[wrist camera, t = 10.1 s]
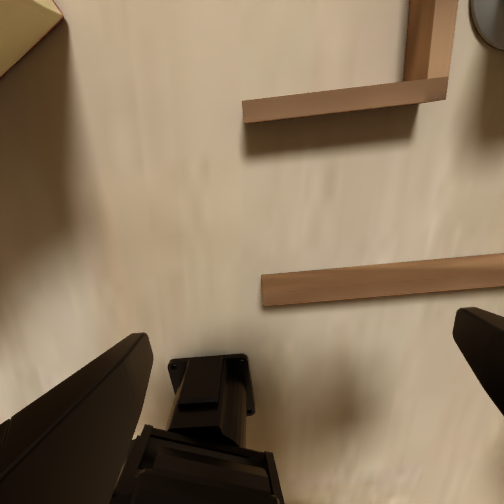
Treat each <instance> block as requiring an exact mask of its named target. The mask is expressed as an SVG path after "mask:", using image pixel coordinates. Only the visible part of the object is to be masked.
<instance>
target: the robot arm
mask: <svg viewBox="0 0 504 504" xmlns="http://www.w3.org/2000/svg"><path fill="white" fill-rule="evenodd" d="M453 338H454V340H455V342H456V344H457V346H458V347H459V349H460V351H461V352H462V354H463V356H464V357H465V359H466V360H467V362H468V364H469V365H470V367H471V369H472V370H473V372H474V374H475V375H476V377H477V379H478V380H479V382H480V383H481V385H482V387H483V388H484V390H485V391H486V393H487V394H488V395H489V397H490V398H491V400H492V401H493V402H494V404H495V405H496V406H497V408H498V409H499V410H500V412H501V413H502V414H503V416H504V317H502V316H499V315H496V314H494V313H491V312H488V311H485V310H482V309H479V308H476V307H466V308H460V309H458V310H457V312H456V317H455V322H454V327H453ZM240 360H244V361H240ZM152 365H153V352H152V349H151V345H150V341H149V338H148V335H147V334H146V333H144V332H143V333H132V334H130V335H129V336H127V337H126V338H125V339H123V340H122V341H120V342H119V343H117V344H116V345H114V346H113V347H112V348H110V349H109V350H107V351H106V352H104V353H103V354H101V355H100V356H99V357H97V358H96V359H94V360H93V361H91V362H90V363H88V364H87V365H86V366H84V367H83V368H81V369H80V370H78V371H77V372H76V373H74V374H73V375H71V376H70V377H68V378H67V379H65V380H64V381H63V382H61V383H60V384H58V385H57V386H55V387H54V388H52V389H51V390H50V391H48V392H47V393H45V394H44V395H42V396H41V397H39V398H38V399H37V400H35V401H34V402H32V403H31V404H29V405H28V406H26V407H25V408H24V409H22V410H21V411H19V412H18V413H16V414H15V415H14V416H12V417H11V420H10V419H8V420H6V421H5V422H3V423H2V424H0V504H284V500H283V495H282V491H281V487H280V482H279V478H278V473H277V469H276V465H275V460H274V456H273V453H271V452H266V451H265V452H259V451H255V450H250V449H246V448H245V445H246V416H251V415H253V414H254V413H255V403H254V396H253V389H252V382H251V375H250V368H249V360H248V356H247V355H245V354H231V355H218V356H205V357H193V358H180V359H172V360H170V361H169V364H168V371H169V374H170V378H171V381H172V385H173V389H174V392H175V399H174V403H173V406H172V409H171V413H170V416H169V419H168V423H167V426H166V430H161V429H157V428H153V426H151V425H146V424H145V426H144V428H143V431H142V433H141V436H139V435H137V438H136V439H134V440H132V438H133V435H134V432H135V429H136V426H137V423H138V420H139V417H140V414H141V411H142V407H143V403H144V399H145V395H146V390H147V386H148V382H149V378H150V373H151V369H152ZM173 365H176V366H173Z"/></svg>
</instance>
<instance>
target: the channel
mask: <svg viewBox="0 0 504 504" xmlns="http://www.w3.org/2000/svg"><path fill="white" fill-rule="evenodd" d="M457 8H458V0H410V8H409V20H408V33H407V45H406V58H405V71H404V82H397V83H388V84H380V85H372V86H363V87H355V88H346V89H338V90H330V91H321V92H313V93H304V94H296V95H288V96H279V97H271V98H263V99H254V100H246V101H242V108H243V117H244V123H245V124H247V123H256V122H264V121H273V120H282V119H290V118H299V117H308V116H316V115H325V114H334V113H342V112H351V111H360V110H368V109H377V108H385V107H394V106H403V105H411V104H420V103H426V102H433V101H439V100H446V93H447V85H448V78H449V70H450V62H451V54H452V47H453V39H454V31H455V24H456V16H457ZM261 278H262V296H263V305H264V306H272V305H284V304H296V303H308V302H319V301H331V300H343V299H355V298H367V297H378V296H390V295H402V294H414V293H425V292H437V291H449V290H461V289H472V288H484V287H496V286H504V253H501V254H490V255H478V256H467V257H456V258H445V259H434V260H423V261H412V262H401V263H390V264H379V265H368V266H356V267H345V268H334V269H323V270H312V271H301V272H290V273H279V274H268V275H261Z"/></svg>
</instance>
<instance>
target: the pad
mask: <svg viewBox="0 0 504 504" xmlns="http://www.w3.org/2000/svg"><path fill="white" fill-rule="evenodd" d="M470 3H471V13H472V18H473V22H474V25H475V27H476V29H477V31H478V33H479V34H480V36H481V37H482V38H483V39H484V40H485V41H486V42H487V43H488V44H490V45H491V46H493V47H495V48H497V49H500V50H503V51H504V5H503V2H502V0H470Z"/></svg>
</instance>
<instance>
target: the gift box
mask: <svg viewBox="0 0 504 504" xmlns="http://www.w3.org/2000/svg"><path fill="white" fill-rule="evenodd" d="M62 18H63V13H62V12H61V11H60V9H59V8H58V6H57V5H56V3H55V2H54V1H53V0H0V78H1V77H2V76H3V75H4V74H5V73H6V72H7V71H8V70H9V69H10V68H11V67H12V66H13V65H14V64H15V63H17V62H18V61H19V60H20V59H21V58H22V57H23V56H24V55H25V54H26V53H27V52H29V51H30V50H31V49H32V48H33V47H34V46H35V45H36V44H37V43H38V42H40V41H41V40H42V39H43V38H44V37H45V36H46V35H47V34H48V33H49V32H50V31H51V30H52V29H53V28H54V27H55V26H56V25H57V24H58V23H59V22H60V21H61V20H62Z"/></svg>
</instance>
